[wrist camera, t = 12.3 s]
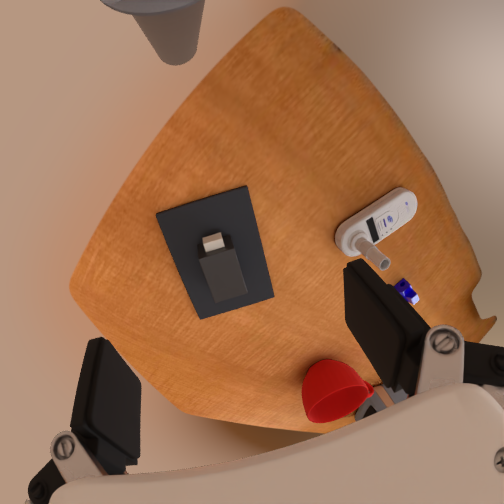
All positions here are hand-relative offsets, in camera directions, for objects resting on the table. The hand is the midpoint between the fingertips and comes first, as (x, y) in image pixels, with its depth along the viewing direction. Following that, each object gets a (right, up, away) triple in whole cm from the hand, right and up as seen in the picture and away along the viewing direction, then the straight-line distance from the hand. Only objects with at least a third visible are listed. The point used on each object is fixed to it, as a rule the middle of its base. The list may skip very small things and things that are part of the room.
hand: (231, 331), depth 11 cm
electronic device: (+19, +8, +33) cm, 39 cm away
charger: (-3, +2, +30) cm, 30 cm away
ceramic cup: (+17, -22, +49) cm, 56 cm away
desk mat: (-4, +2, +31) cm, 31 cm away
